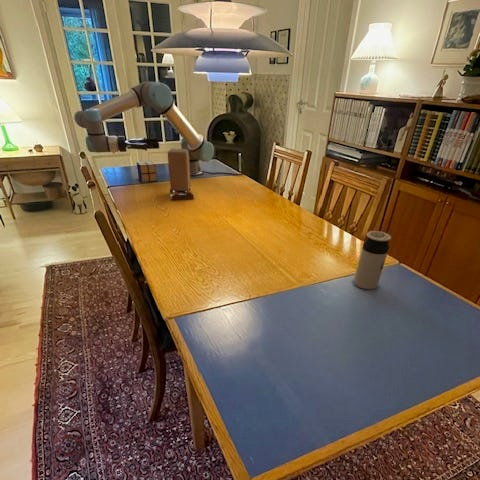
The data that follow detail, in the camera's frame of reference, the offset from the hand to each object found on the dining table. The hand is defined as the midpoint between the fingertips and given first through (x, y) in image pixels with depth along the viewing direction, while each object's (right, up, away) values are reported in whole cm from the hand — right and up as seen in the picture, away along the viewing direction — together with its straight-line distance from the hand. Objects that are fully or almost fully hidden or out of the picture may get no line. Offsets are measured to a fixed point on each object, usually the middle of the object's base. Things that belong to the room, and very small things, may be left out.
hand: (158, 143), depth 186 cm
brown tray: (+11, -25, +11) cm, 29 cm away
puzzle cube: (-16, -5, +37) cm, 41 cm away
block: (+11, -22, +8) cm, 26 cm away
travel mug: (+88, -84, -66) cm, 139 cm away
